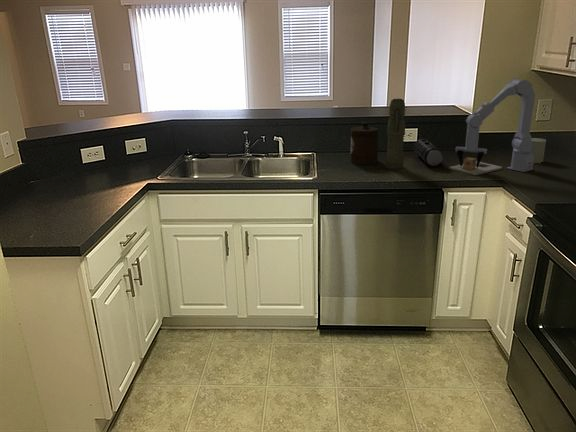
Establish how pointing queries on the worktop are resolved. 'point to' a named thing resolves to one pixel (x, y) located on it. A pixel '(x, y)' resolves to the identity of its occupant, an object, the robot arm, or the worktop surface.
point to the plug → (469, 164)
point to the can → (538, 149)
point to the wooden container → (364, 144)
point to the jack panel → (477, 170)
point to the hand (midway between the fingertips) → (469, 166)
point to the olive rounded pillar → (396, 135)
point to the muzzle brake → (428, 152)
